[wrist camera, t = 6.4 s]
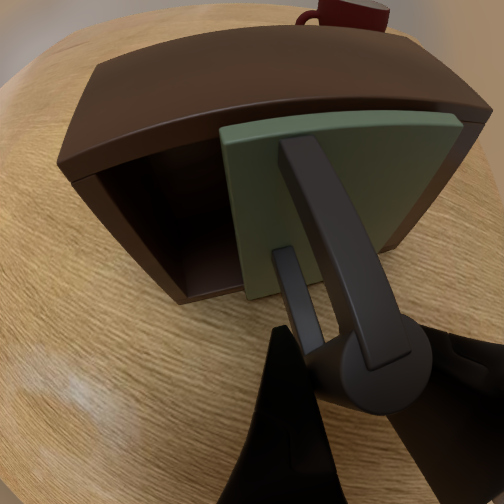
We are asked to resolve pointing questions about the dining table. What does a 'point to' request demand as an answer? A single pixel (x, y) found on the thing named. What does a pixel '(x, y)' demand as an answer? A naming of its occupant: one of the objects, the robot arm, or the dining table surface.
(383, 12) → the mug
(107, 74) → the cabinet
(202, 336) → the dining table surface
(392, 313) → the door
